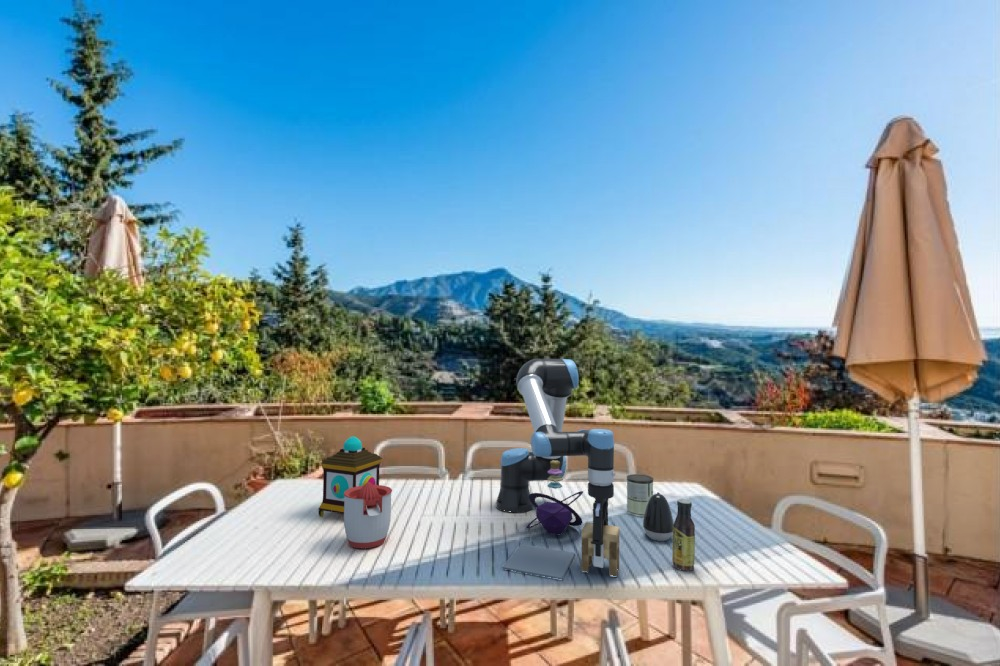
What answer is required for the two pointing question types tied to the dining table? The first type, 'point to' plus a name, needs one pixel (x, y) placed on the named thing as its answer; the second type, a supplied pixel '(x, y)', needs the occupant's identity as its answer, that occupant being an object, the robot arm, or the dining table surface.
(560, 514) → the ringed planet sculpture
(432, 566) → the dining table surface
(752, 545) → the dining table surface
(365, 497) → the citrus juicer
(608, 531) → the notched wooden block
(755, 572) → the dining table surface
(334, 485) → the decorative lantern
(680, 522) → the sauce bottle
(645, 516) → the black egg shape
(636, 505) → the coffee can
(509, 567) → the slate mat
